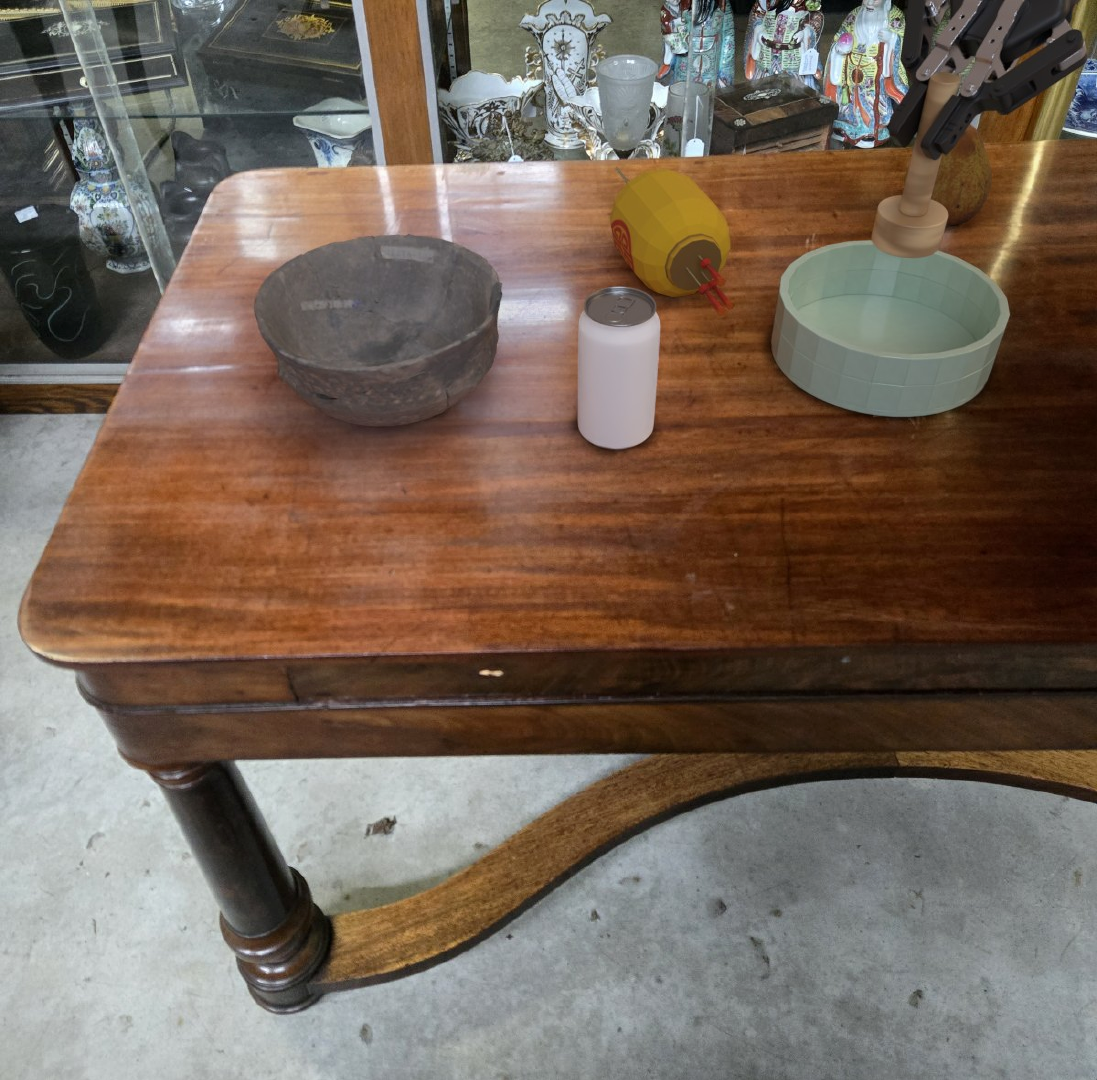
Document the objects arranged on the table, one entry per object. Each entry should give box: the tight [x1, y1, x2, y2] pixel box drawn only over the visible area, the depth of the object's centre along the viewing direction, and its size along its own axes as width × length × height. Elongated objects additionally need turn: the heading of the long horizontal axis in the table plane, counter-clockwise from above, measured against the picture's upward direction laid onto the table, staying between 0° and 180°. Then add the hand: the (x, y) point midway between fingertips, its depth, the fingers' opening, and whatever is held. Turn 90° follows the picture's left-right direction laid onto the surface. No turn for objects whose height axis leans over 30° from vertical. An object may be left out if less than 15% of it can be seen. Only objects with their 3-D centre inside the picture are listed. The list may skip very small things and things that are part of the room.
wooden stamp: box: [870, 72, 962, 258], centre depth 73 cm, size 5×5×12 cm
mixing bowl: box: [770, 239, 1011, 418], centre depth 94 cm, size 20×20×6 cm
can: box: [577, 286, 661, 451], centre depth 84 cm, size 6×6×12 cm
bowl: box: [253, 233, 503, 427], centre depth 89 cm, size 21×21×10 cm
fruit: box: [903, 124, 993, 227], centre depth 110 cm, size 9×9×12 cm
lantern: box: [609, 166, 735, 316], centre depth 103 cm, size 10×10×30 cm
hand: (912, 146), depth 71 cm, fingers closed on wooden stamp
